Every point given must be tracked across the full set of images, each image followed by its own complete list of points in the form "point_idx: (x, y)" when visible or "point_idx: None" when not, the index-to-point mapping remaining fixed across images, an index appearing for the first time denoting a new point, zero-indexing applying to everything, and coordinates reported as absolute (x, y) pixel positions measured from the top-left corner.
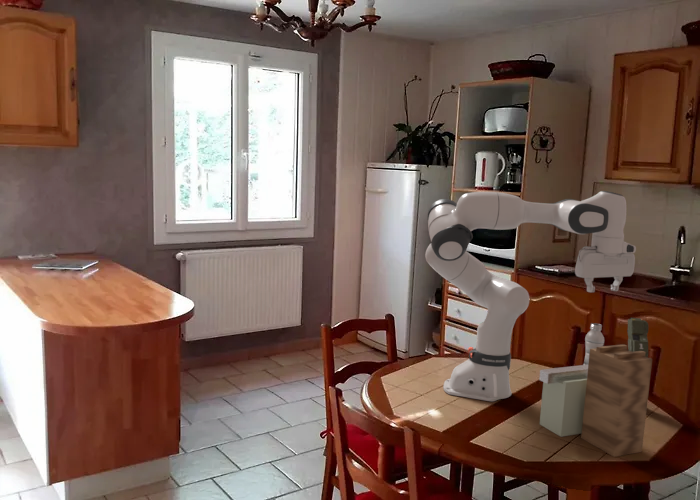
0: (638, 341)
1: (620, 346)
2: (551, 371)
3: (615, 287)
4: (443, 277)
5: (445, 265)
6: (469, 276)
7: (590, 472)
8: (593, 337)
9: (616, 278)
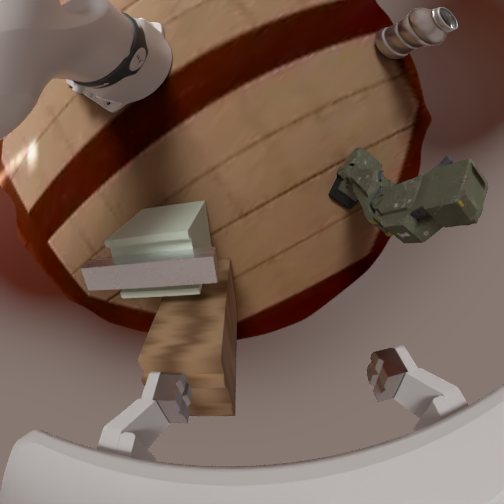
0: (409, 230)
1: (203, 387)
2: (97, 281)
3: (375, 393)
4: None
5: None
6: None
7: (144, 330)
8: (422, 28)
9: (425, 417)
